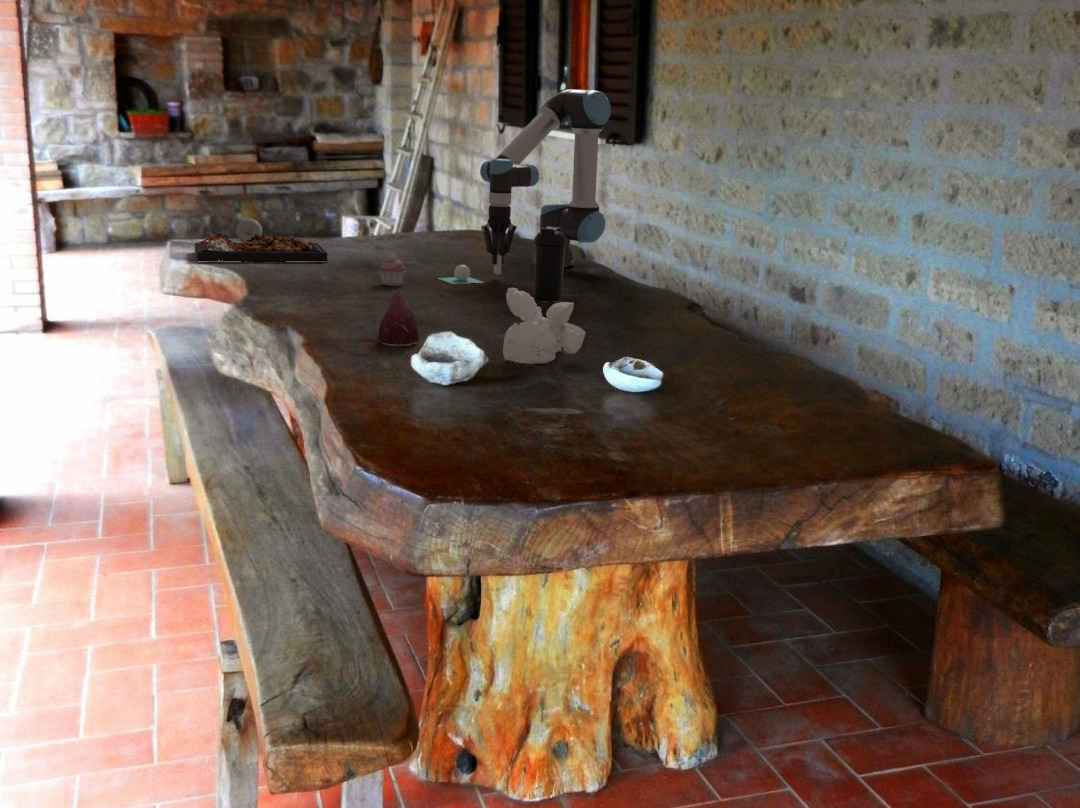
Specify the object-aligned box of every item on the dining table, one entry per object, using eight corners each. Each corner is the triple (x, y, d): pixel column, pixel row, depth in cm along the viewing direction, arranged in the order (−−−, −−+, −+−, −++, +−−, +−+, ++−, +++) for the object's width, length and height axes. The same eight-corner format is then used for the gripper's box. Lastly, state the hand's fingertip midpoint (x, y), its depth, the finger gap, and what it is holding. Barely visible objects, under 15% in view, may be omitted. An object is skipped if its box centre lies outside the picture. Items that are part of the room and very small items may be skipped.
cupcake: (412, 286, 376) (412, 255, 374) (390, 288, 370) (390, 257, 367) (394, 281, 382) (394, 252, 380) (372, 284, 376) (372, 253, 373)
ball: (462, 281, 394) (468, 266, 393) (469, 284, 389) (475, 269, 389) (449, 276, 391) (454, 261, 390) (456, 279, 386) (462, 263, 386)
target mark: (468, 277, 398) (468, 276, 398) (484, 283, 388) (484, 282, 388) (437, 278, 392) (437, 278, 392) (452, 284, 382) (452, 283, 382)
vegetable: (380, 350, 299) (374, 293, 298) (420, 346, 299) (414, 289, 299) (377, 349, 288) (371, 290, 288) (418, 345, 289) (412, 286, 288)
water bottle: (567, 299, 366) (571, 227, 360) (557, 304, 356) (561, 230, 350) (537, 296, 369) (541, 224, 363) (527, 301, 360) (530, 227, 353)
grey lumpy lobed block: (480, 327, 274) (516, 275, 285) (495, 385, 288) (528, 333, 299) (551, 342, 266) (585, 287, 278) (563, 401, 280) (594, 347, 292)
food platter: (197, 265, 400) (196, 235, 398) (195, 254, 423) (194, 226, 420) (327, 264, 414) (327, 236, 412) (318, 254, 437) (317, 227, 434)
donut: (262, 243, 454) (261, 218, 451) (262, 244, 450) (262, 219, 448) (236, 243, 451) (235, 217, 449) (236, 244, 448) (235, 218, 445)
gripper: (511, 203, 397) (508, 271, 403) (477, 204, 390) (475, 272, 397) (521, 206, 391) (518, 274, 397) (488, 206, 384) (485, 276, 390)
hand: (497, 273), depth 397 cm, fingers closed
